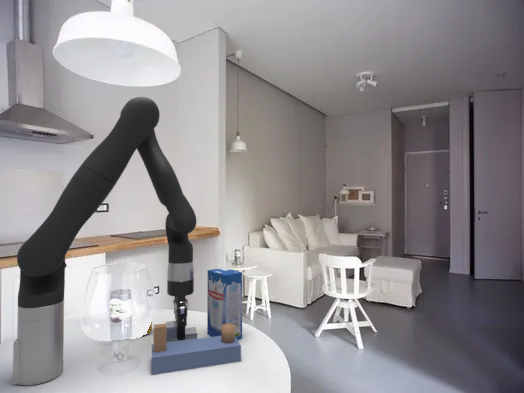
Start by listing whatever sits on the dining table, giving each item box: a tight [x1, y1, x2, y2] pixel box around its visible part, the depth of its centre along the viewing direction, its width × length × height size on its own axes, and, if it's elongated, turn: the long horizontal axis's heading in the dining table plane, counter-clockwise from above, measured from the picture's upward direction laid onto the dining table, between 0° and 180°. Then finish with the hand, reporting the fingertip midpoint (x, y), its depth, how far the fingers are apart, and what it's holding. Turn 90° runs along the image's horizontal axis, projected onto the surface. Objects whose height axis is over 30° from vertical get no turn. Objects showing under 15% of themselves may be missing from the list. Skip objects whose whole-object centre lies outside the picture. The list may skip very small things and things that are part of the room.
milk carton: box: [206, 267, 243, 341], centre depth 102 cm, size 10×6×20 cm, turn 41°
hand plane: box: [150, 322, 242, 376], centre depth 86 cm, size 22×8×10 cm, turn 108°
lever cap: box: [165, 319, 198, 343], centre depth 97 cm, size 9×5×4 cm, turn 108°
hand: (180, 335), depth 97 cm, fingers closed on lever cap, 5 cm apart
